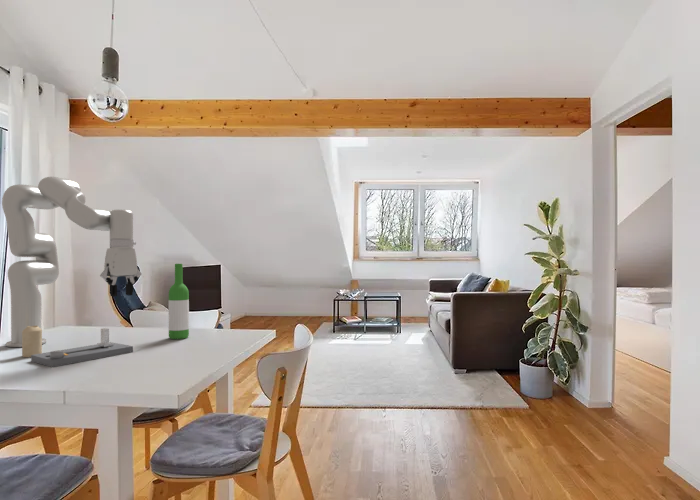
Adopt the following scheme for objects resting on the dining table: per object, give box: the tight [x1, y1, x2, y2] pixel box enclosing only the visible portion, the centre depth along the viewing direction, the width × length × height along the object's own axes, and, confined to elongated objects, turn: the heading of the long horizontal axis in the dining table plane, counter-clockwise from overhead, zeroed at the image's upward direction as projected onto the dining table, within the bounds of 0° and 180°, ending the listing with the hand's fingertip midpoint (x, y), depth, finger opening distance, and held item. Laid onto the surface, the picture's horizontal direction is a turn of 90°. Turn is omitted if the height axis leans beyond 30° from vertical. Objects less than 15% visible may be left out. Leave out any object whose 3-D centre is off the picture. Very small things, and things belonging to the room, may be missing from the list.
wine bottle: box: [168, 263, 190, 340], centre depth 193 cm, size 8×8×30 cm
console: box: [30, 341, 134, 368], centre depth 159 cm, size 14×26×4 cm, turn 146°
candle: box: [21, 326, 43, 358], centre depth 160 cm, size 6×6×10 cm
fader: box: [96, 327, 114, 347], centre depth 165 cm, size 4×3×6 cm
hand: (121, 295), depth 170 cm, fingers open, 5 cm apart
